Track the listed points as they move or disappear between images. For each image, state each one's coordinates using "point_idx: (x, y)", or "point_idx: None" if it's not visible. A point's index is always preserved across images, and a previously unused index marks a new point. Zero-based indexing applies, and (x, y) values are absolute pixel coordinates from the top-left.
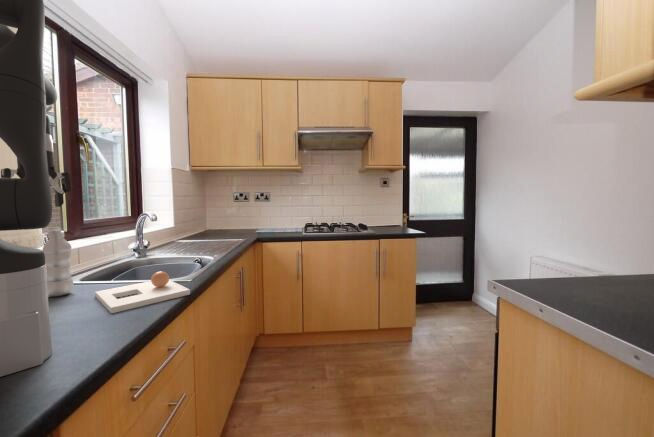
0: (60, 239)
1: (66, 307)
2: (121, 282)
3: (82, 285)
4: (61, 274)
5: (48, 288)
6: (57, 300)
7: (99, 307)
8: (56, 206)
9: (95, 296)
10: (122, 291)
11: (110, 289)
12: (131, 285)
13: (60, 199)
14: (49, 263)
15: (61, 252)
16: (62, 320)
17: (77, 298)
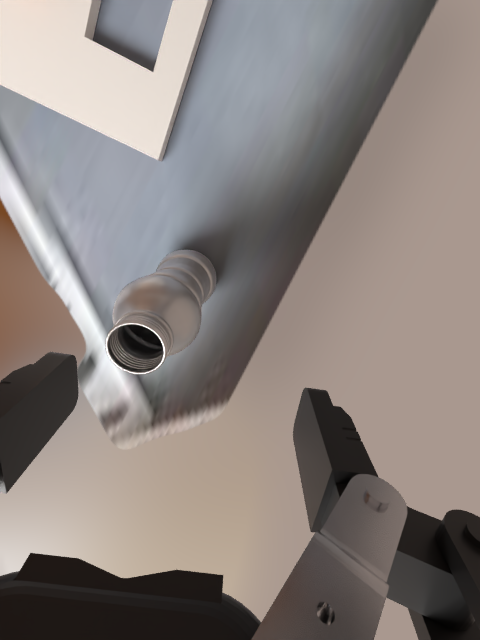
0: (142, 309)
1: (243, 141)
2: (49, 233)
3: None
4: (184, 263)
5: (214, 274)
6: (216, 233)
7: (215, 33)
8: (76, 385)
9: (162, 158)
10: (121, 63)
11: (125, 133)
12: (69, 106)
13: (17, 382)
14: (199, 291)
15: (165, 276)
16: (311, 28)
17: (189, 197)
